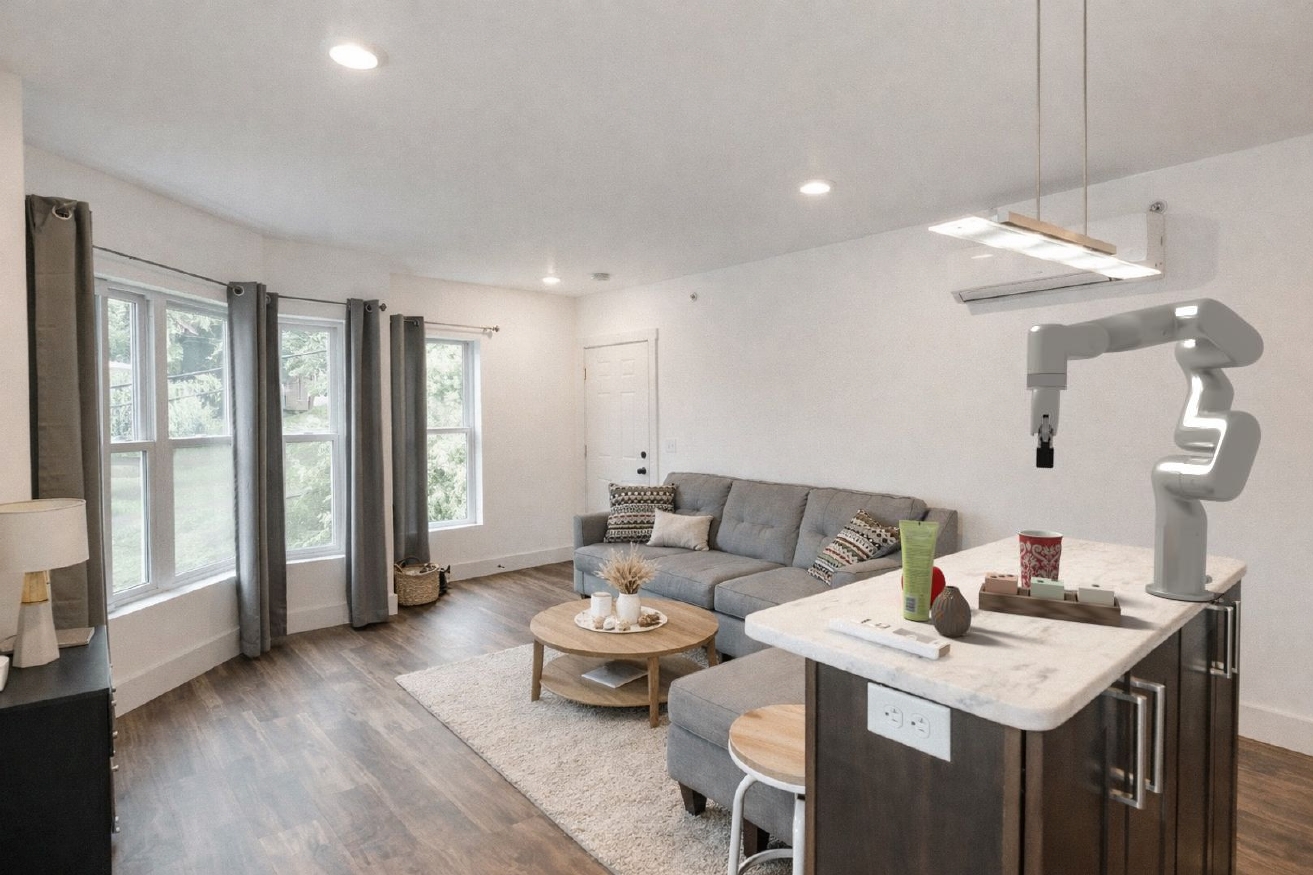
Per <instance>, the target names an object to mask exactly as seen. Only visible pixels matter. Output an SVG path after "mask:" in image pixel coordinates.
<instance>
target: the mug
mask: <svg viewBox="0 0 1313 875" xmlns="http://www.w3.org/2000/svg"><path fill="white" fill-rule="evenodd" d="M1017 534H1018V538H1019V539H1018V541H1019V557H1020V558H1019V562H1020V563H1019V564H1020V566H1019V567H1020V587H1027V588H1030V586H1031V577H1038V578H1048V579H1058V580H1059V574H1060V565H1061V564H1060V563H1061V562H1060V561H1061V556H1062V549H1063V548H1062V547H1063V546H1062V541H1063V537H1064V534H1062V533H1059V532H1056V531H1049V530H1039V529H1027V530H1026V529H1025V530H1020V531H1018V533H1017Z"/></svg>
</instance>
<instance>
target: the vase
mask: <svg viewBox="0 0 1313 875" xmlns="http://www.w3.org/2000/svg"><path fill="white" fill-rule="evenodd" d="M930 611H931V612H930V616H931V622H932V625H933V627H934V628H935V630H936V631H937V633H939V634H940V635H942V636H945V637H948V638H949V637H950V638H960V637H963V636H964V635H965V634H966V633H967V632H968V631H969V629H970V627H971V625H972V624H971V623H972V610H971V607H970V604H969V602H968V601H967V599H966V598H965V597H964V595H963V594H962V592H961V590H960V588H959V587H958V586H954V585H946V586H945V587H944V589H943V591H942V592H941V593H940V594H939V596H938V597H937V598H936V599H935V601H934V603H933V605H931V608H930Z"/></svg>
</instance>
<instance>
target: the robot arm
mask: <svg viewBox="0 0 1313 875" xmlns="http://www.w3.org/2000/svg"><path fill="white" fill-rule="evenodd" d="M1174 342H1176V343H1175V345H1174V346H1175V347H1174V357H1175V359H1176V362H1177V364H1178V365H1179V367H1180V368H1181V370H1182V372H1183V374H1184V377H1185V379H1186V383H1187V392H1186V395H1185V399H1184V401H1183V405H1182V408H1181V410H1180V414H1179V417H1178V420H1177V422H1176V425H1175V428H1174V433H1173V440H1174V441H1173V442H1174V444H1175V446H1177V447H1178V448H1180V449H1182V450H1184V451H1187V452H1193V453H1201V454H1203V453H1205V454H1213V455H1212V456H1201V455H1192V454H1191V455H1187V454H1172V455H1167V456H1164V457H1162V458H1160V459H1158V460H1157V461H1155V463H1154V464H1153V466H1152V469H1151V472H1150V473H1151V474H1150V480H1151V485H1152V491H1153V494H1154V503H1155V504H1154V506H1155V520H1154V521H1155V522H1154V554H1153V583H1152V582H1151V583H1148V584H1145V587H1144V590H1145V591H1146V592H1147V593H1149V594H1151V595H1153V596H1157V597H1162V598H1166V599H1171V600H1179V601H1188V602H1189V601H1190V602H1208V601H1212V600H1214V599H1215V594H1214V592H1212V591H1210V590H1208V589H1206V585H1208V584H1209V585H1210V584H1211V583H1212V582H1213V581H1214V579H1213V577H1212V576H1211V575H1209V574H1207V553H1208V552H1207V551H1208V550H1207V548H1208V547H1207V546H1208V524H1209V522H1208V521H1209V520H1208V516H1207V512H1206V510H1205V508H1204V506H1203V504H1202V502H1201V501H1207V502H1216V503H1218V502H1219V503H1228V502H1232V501H1234V500H1236V499H1237V498H1239V496H1240V495H1241V494H1243V493H1242V492H1243V491H1244V489H1245V487H1246V485H1247V483H1248V480H1249V476H1250V474H1251V471H1252V467H1253V466H1254V462H1255V459H1256V457H1257V453H1258V451H1259V447H1260V443H1261V439H1262V431H1261V430H1262V429H1261V426H1260V423H1259V420H1257V418H1256V416H1254V415H1253V414H1251V413H1249V412H1247V411H1244V410H1243V411H1242V410H1235V409H1234V410H1231V408H1232V405H1233V401H1234V396H1235V389H1234V387H1233V384H1232V382H1231V380H1230V379H1229V378H1228V375H1226V373H1225V372H1224V370H1223V369H1228V368H1244V367H1248V366H1251V365H1253V364H1255V363H1256V362H1258V361H1259V359H1261V357H1262V355H1263V354H1264V349H1265V344H1264V340H1263V337H1262V336H1261V334H1260V333H1259V332H1258V330H1257V329H1255V327H1254V326H1253V325H1251V324H1250V323H1249V322H1247V320H1245V319H1244V318H1242V317H1241V316H1240V315H1239V314H1238V313H1237V312H1235V311H1234V310H1233V309H1231V308H1230V307H1229V306H1227V305H1226V304H1224V303H1223V302H1221V301H1219V300H1216V299H1213V298H1211V297H1210V298H1209V297H1203V298H1197V299H1191V300H1183V301H1177V302H1171V303H1165V304H1159V305H1155V306H1150V307H1145V308H1140V309H1135V310H1130V311H1124V312H1120V313H1116V314H1112V315H1108V316H1103V317H1100V318H1097V319H1092V320H1086V321H1082V322H1077V323H1073V324H1071V323H1070V324H1062V323H1043V324H1042V323H1041V324H1035V325H1033V326H1030V327H1029V329H1028V331H1027V342H1026V343H1027V345H1026V346H1027V348H1026V350H1027V352H1026V353H1027V354H1026V391H1031V398H1030V399H1031V400H1030V428H1029V429H1030V436H1031V437H1035V434H1037V446H1036V451H1035V452H1036V455H1035V467H1036V468H1037V469H1053V468H1054V465H1055V463H1054V462H1055V461H1054V460H1055V459H1054V458H1055V449H1054V447H1053V446H1054V445H1053V443H1054V442H1053V440H1054V437H1057V433H1058V428H1059V422H1060V421H1059V420H1060V408H1061V406H1060V404H1061V391H1067V389H1068V388H1067V387H1068V386H1067V385H1068V362H1069V361H1080V360H1089V359H1096V358H1097V357H1099V356H1101V355H1102V354H1107V353H1109V354H1110V353H1112V354H1113V353H1122V352H1123V353H1124V352H1129V351H1130V352H1131V351H1136V350H1140V349H1145V348H1150V347H1154V346H1158V345H1159V346H1160V345H1164V344H1168V343H1174Z"/></svg>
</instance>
